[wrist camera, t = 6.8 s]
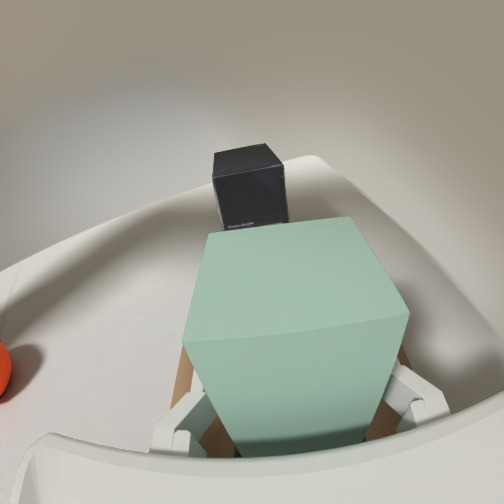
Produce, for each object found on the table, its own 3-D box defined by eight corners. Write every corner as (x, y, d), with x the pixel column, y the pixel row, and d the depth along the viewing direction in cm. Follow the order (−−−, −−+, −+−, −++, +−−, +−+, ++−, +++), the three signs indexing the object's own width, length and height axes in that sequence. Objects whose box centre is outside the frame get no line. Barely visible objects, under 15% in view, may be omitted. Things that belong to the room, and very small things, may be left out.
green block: (255, 478, 12) (181, 342, 6) (254, 405, 16) (208, 233, 10) (348, 467, 12) (410, 312, 6) (334, 396, 16) (349, 215, 10)
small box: (227, 231, 38) (211, 151, 32) (277, 222, 38) (267, 142, 32) (230, 279, 29) (208, 174, 23) (296, 267, 29) (287, 161, 23)
